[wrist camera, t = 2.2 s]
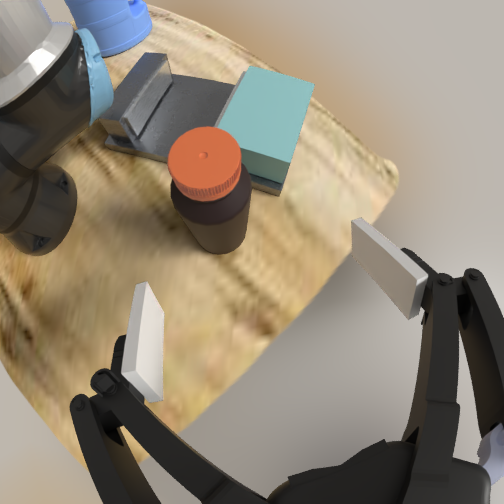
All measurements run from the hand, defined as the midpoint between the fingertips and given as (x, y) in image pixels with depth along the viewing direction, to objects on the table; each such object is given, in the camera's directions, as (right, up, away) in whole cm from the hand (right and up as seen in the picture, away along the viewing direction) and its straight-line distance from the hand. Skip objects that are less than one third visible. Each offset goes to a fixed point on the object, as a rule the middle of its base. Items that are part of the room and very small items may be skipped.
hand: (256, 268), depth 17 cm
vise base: (-7, +20, +23) cm, 31 cm away
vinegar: (-4, +4, +20) cm, 21 cm away
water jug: (-30, +50, +27) cm, 64 cm away
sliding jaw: (+1, +18, +20) cm, 27 cm away
